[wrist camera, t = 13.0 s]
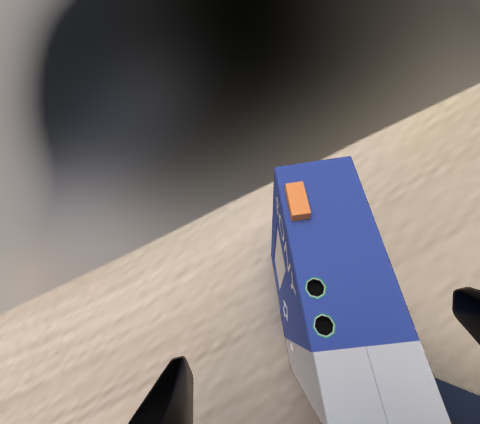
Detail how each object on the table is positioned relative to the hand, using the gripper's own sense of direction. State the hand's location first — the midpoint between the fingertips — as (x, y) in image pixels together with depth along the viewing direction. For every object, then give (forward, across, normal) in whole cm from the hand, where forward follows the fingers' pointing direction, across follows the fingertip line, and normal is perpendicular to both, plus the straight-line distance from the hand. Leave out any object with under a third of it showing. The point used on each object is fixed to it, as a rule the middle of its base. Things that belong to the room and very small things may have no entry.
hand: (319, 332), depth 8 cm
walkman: (+8, -1, +6) cm, 10 cm away
